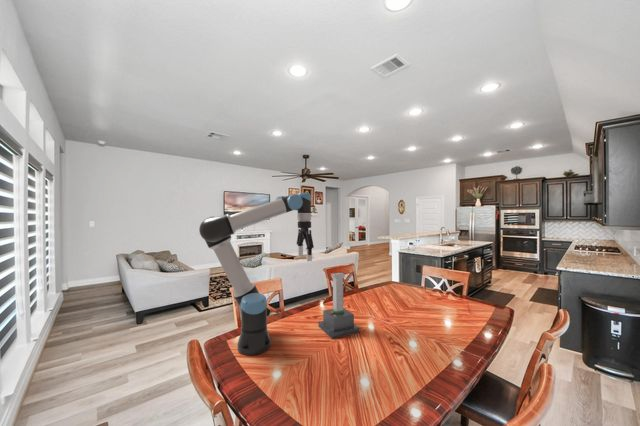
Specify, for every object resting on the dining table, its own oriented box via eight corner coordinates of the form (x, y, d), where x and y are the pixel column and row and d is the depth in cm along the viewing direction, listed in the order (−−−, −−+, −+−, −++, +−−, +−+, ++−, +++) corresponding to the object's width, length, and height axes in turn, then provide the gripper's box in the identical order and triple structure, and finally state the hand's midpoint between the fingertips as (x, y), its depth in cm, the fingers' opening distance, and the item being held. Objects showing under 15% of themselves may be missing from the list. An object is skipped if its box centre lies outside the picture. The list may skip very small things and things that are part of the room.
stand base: (331, 338, 131) (331, 318, 131) (318, 326, 145) (318, 308, 145) (359, 332, 137) (359, 313, 137) (344, 321, 152) (343, 304, 152)
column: (335, 320, 138) (334, 275, 138) (331, 317, 142) (330, 273, 142) (345, 318, 141) (344, 274, 141) (341, 315, 144) (340, 272, 145)
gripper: (319, 221, 138) (320, 262, 137) (302, 220, 160) (303, 255, 160) (306, 221, 135) (306, 263, 134) (291, 220, 157) (291, 256, 157)
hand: (304, 259), depth 147 cm, fingers open, 13 cm apart
